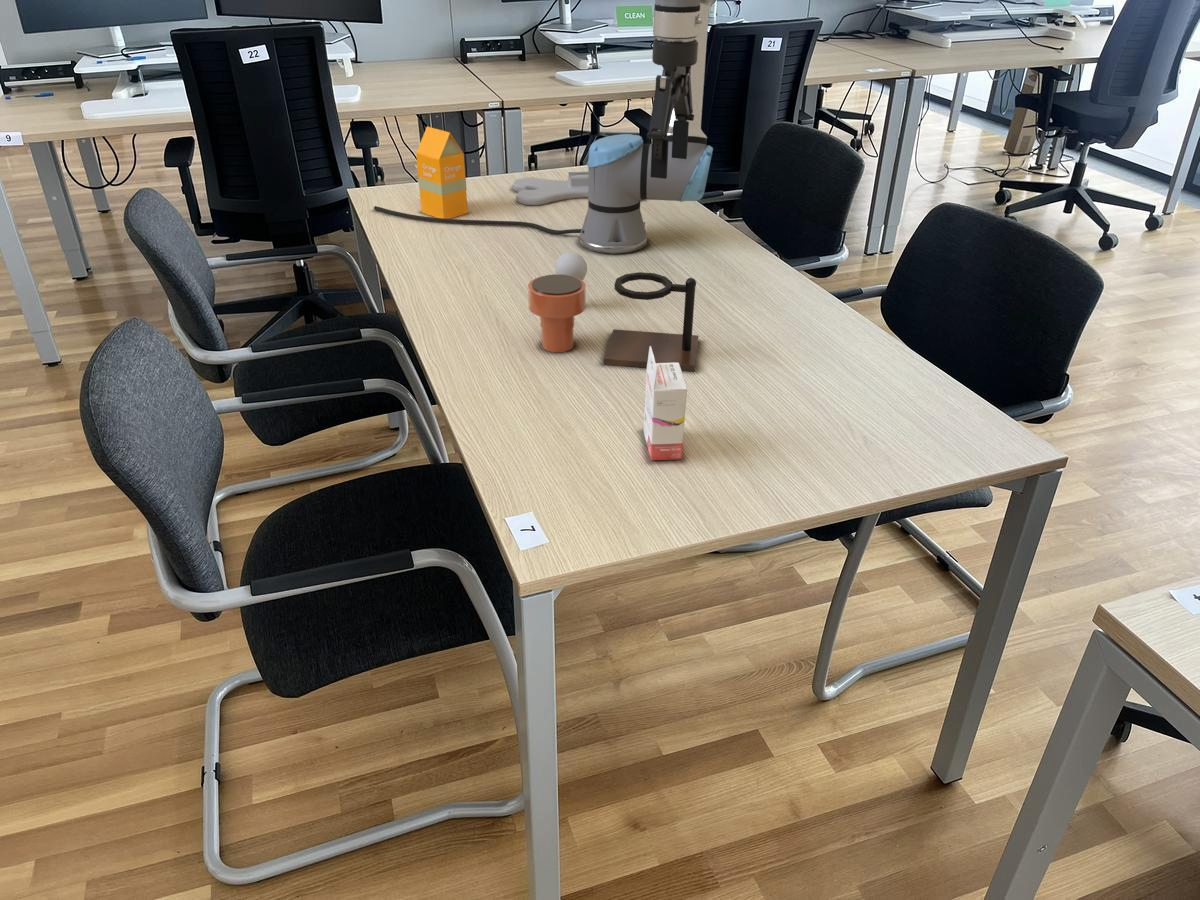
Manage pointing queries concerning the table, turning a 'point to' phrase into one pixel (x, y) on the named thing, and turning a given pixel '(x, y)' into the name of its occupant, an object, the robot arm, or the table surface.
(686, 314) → the ring stand
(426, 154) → the orange juice
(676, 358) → the ring stand base
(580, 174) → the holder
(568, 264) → the lightbulb
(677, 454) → the ink cartridge box
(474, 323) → the table surface
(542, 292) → the terracotta pot
